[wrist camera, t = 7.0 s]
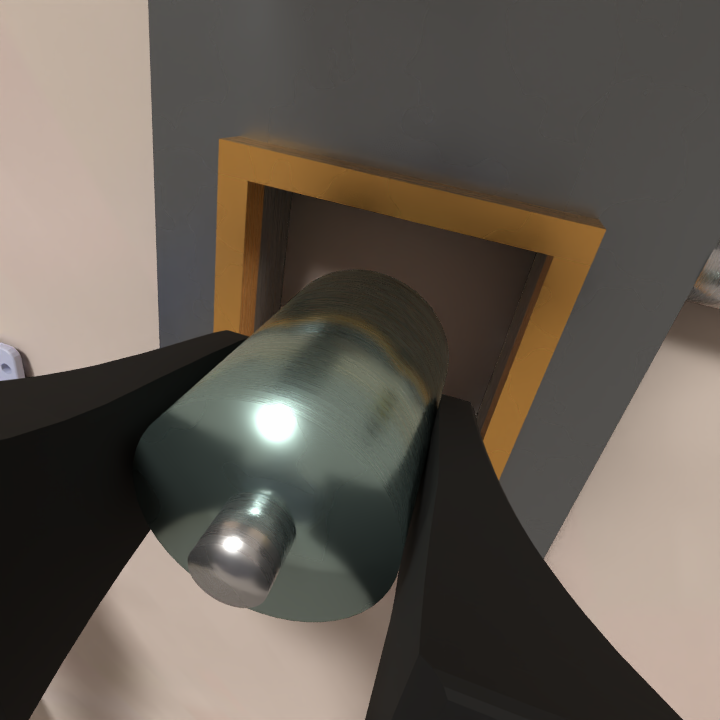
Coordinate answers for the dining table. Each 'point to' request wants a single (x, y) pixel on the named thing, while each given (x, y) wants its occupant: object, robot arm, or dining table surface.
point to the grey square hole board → (456, 181)
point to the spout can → (302, 452)
